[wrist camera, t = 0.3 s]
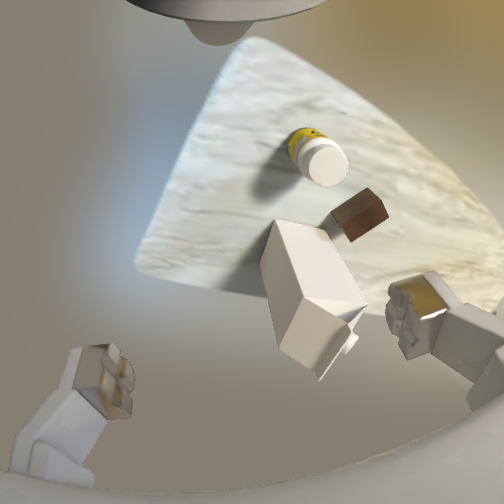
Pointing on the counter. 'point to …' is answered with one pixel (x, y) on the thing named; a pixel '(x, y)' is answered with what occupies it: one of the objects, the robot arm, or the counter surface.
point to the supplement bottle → (317, 156)
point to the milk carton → (310, 295)
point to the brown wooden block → (360, 214)
